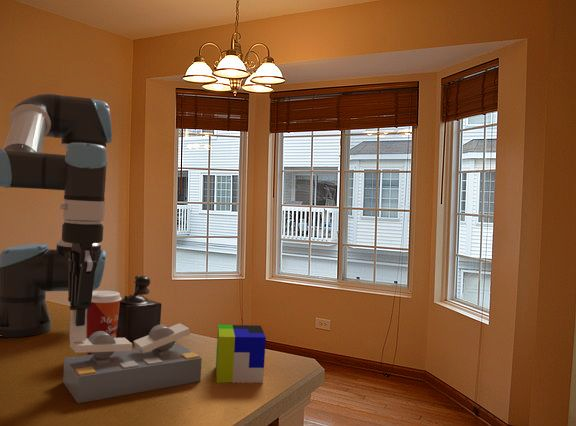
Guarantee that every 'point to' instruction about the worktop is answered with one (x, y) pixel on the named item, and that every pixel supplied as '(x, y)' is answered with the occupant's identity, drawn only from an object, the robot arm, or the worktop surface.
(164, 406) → the worktop surface
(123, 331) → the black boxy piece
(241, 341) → the puzzle toy
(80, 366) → the console
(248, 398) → the worktop surface
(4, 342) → the worktop surface
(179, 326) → the rocker right
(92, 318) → the coffee cup
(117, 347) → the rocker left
